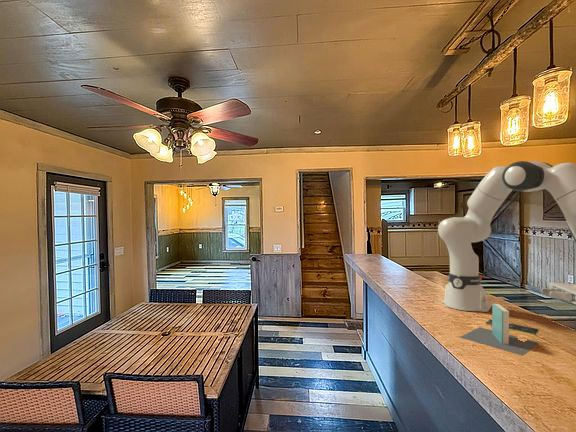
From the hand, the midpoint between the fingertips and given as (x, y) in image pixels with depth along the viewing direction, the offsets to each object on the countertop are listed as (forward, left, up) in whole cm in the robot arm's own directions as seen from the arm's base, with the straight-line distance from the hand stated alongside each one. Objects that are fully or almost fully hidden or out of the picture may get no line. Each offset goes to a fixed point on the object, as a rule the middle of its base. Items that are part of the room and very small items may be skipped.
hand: (545, 292), depth 98 cm
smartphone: (-10, -12, -17) cm, 23 cm away
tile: (+7, -10, -16) cm, 20 cm away
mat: (+8, -10, -16) cm, 20 cm away
